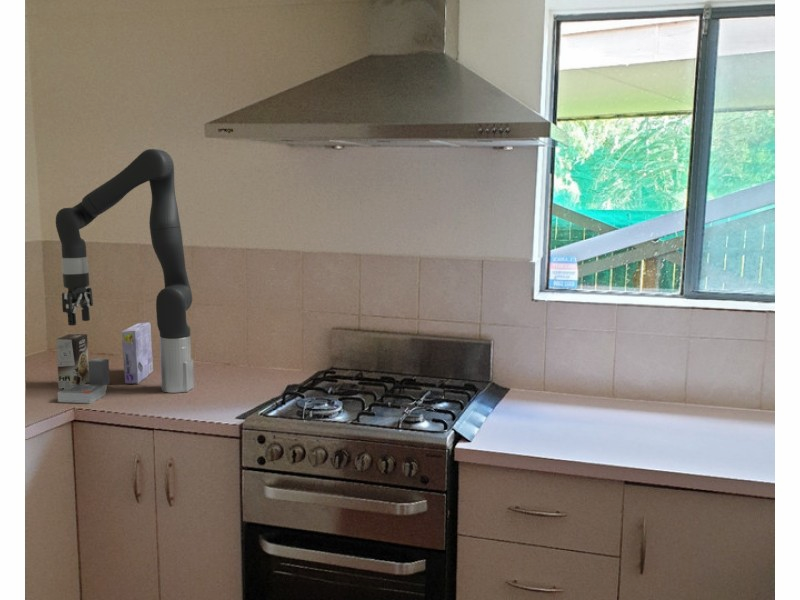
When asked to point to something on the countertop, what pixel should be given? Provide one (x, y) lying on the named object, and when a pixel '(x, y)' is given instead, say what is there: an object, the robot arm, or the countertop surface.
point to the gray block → (99, 371)
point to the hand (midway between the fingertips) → (79, 322)
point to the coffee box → (72, 360)
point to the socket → (81, 393)
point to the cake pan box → (137, 352)
